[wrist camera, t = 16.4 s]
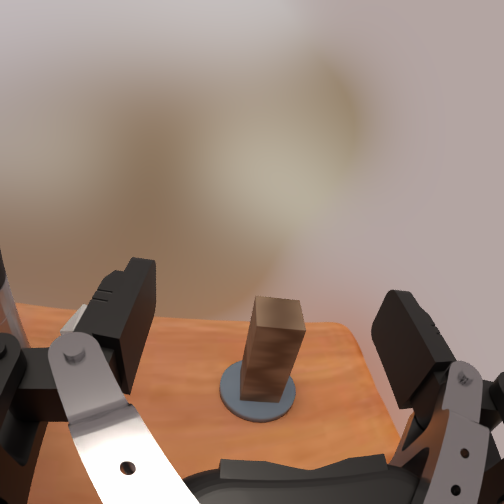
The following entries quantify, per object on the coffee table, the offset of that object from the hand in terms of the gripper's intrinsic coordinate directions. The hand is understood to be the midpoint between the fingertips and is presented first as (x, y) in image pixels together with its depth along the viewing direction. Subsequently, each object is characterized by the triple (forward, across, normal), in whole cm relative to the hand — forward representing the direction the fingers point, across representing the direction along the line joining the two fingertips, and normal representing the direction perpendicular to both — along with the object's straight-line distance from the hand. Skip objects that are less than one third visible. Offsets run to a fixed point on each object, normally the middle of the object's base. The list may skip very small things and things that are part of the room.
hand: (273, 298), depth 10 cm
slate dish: (+17, -5, +29) cm, 34 cm away
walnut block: (+17, -5, +28) cm, 33 cm away
